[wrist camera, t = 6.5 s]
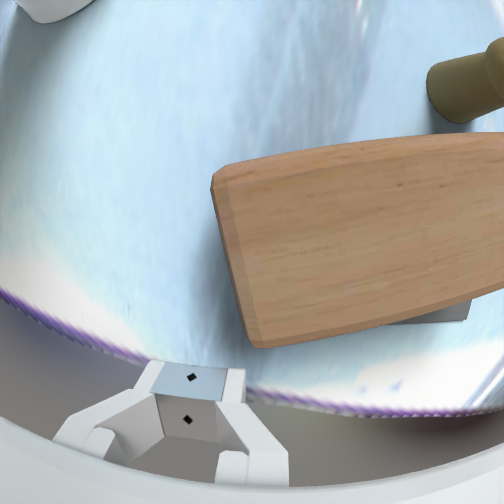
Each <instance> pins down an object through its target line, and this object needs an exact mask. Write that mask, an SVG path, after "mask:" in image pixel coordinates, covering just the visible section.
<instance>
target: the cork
mask: <svg viewBox="0 0 504 504" xmlns="http://www.w3.org/2000/svg"><path fill="white" fill-rule="evenodd" d="M426 84H427V92H428V95H429V97H430V100H431V102H432V104H433V105H434V107H435V108H436V110H437V111H438V112H439V113H440V114H441V115H442V116H443V117H444V118H445V119H447V120H449V121H451V122H453V123H458V124H461V123H466V122H468V121H471V120H473V119H475V118H478V117H480V116H483V115H485V114H487V113H490V112H492V111H495V110H497V109H499V108H502V107H504V37H501V38H499V39H497V40H495V41H493V42H492V43H491V44H490V45H489V46H488V48H487V50H486V52H483V53H478V54H473V55H469V56H464V57H460V58H456V59H452V60H448V61H444V62H440V63H437V64H435V65H434V66H432V67H431V69H430V70H429V72H428V74H427V80H426Z"/></svg>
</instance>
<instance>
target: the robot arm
mask: <svg viewBox="0 0 504 504" xmlns="http://www.w3.org/2000/svg"><path fill="white" fill-rule="evenodd" d="M14 1H15V3H16V4H18V5H19V6H21V7H22V8H23V9H24V10H25V11H26V12H27V13H28V14H29V15H30V17H31V18H32V19H33V20H34V21H36V22H38V23H51V22H55V21H58V20H61V19H63V18H66V17H68V16H70V15H72V14H73V13H75V12H77V11H78V10H80V9H82V8H83V7H85V6H86V5H87V4H89V3H90V2H91V1H93V0H14ZM245 395H246V370H245V369H244V368H229V369H228V368H214V367H202V366H195V365H187V364H179V363H172V362H165V361H157V360H151V361H150V362H149V363H148V365H147V366H146V368H145V370H144V371H143V373H142V375H141V376H140V378H139V380H138V382H137V383H136V385H135V387H134V389H133V390H132V389H127V390H125V391H123V392H121V393H119V394H117V395H115V396H113V397H110V398H108V399H106V400H104V401H102V402H100V403H98V404H95V405H93V406H91V407H89V408H86V409H84V410H82V411H80V412H77V413H76V414H73V415H71V416H69V417H68V418H67V420H66V421H65V423H64V424H63V426H62V427H61V428H60V429H59V431H58V433H57V434H56V435H55V437H54V438H53V439H52V441H50V440H48V439H45V438H43V437H41V436H39V435H36V434H34V433H32V432H30V431H28V430H26V429H24V428H22V427H20V426H18V425H16V424H14V423H12V422H10V421H9V420H7V419H5V418H3V417H1V416H0V504H504V443H502V444H500V445H497V446H495V447H492V448H490V449H488V450H485V451H482V452H480V453H477V454H474V455H471V456H469V457H466V458H463V459H460V460H457V461H453V462H450V463H447V464H444V465H440V466H437V467H433V468H430V469H425V470H422V471H417V472H413V473H409V474H405V475H400V476H395V477H389V478H384V479H378V480H372V481H365V482H358V483H349V484H340V485H328V486H313V487H289V468H288V452H287V451H286V450H285V449H284V447H283V446H282V445H281V444H280V443H279V442H278V441H277V440H276V438H275V437H274V436H273V435H272V434H271V433H270V431H269V430H268V429H267V428H266V427H265V426H264V424H263V423H262V422H261V421H260V420H259V419H258V417H257V416H256V415H255V414H254V413H253V411H252V410H251V409H250V408H249V407H248V405H247V404H245ZM164 435H165V436H171V437H179V438H187V439H194V440H202V441H208V442H215V443H219V445H220V447H221V449H222V451H223V452H222V453H220V456H219V461H218V466H217V470H216V475H215V480H214V483H205V482H198V481H191V480H185V479H179V478H173V477H168V476H163V475H158V474H153V473H149V472H145V471H140V470H136V469H133V468H129V466H128V465H129V464H130V463H131V462H133V461H134V460H135V459H137V458H138V457H139V456H141V455H142V454H143V453H145V452H146V451H147V450H148V449H150V448H151V447H152V446H153V445H155V444H156V443H157V442H159V441H160V440H161V439H162V438H164Z"/></svg>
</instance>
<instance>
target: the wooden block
mask: <svg viewBox="0 0 504 504" xmlns="http://www.w3.org/2000/svg"><path fill="white" fill-rule="evenodd" d="M210 191H211V196H212V200H213V205H214V209H215V213H216V218H217V222H218V226H219V231H220V235H221V239H222V243H223V247H224V252H225V256H226V260H227V264H228V268H229V272H230V276H231V281H232V285H233V289H234V293H235V297H236V301H237V305H238V309H239V313H240V317H241V321H242V324H243V328H244V332H245V335H246V336H247V337H248V339H249V340H250V342H251V343H252V345H253V346H254V347H257V348H263V349H266V348H273V347H279V346H285V345H291V344H297V343H302V342H308V341H313V340H318V339H323V338H328V337H333V336H338V335H343V334H347V333H352V332H356V331H361V330H365V329H369V328H374V327H378V326H382V325H386V324H390V323H394V322H397V321H401V320H405V319H409V318H412V317H416V316H419V315H423V314H426V313H430V312H433V311H437V310H440V309H443V308H446V307H450V306H453V305H456V304H459V303H462V302H465V301H468V300H471V299H474V298H477V297H480V296H483V295H486V294H489V293H491V292H494V291H497V290H499V289H502V288H504V132H476V133H449V134H432V135H418V136H406V137H395V138H386V139H376V140H368V141H360V142H352V143H345V144H338V145H331V146H324V147H318V148H312V149H305V150H300V151H294V152H288V153H283V154H277V155H272V156H267V157H262V158H257V159H252V160H247V161H243V162H238V163H234V164H229V165H225V166H224V167H222V168H221V169H220V170H218V171H217V172H215V173H214V174H213V176H212V182H211V188H210Z"/></svg>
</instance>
